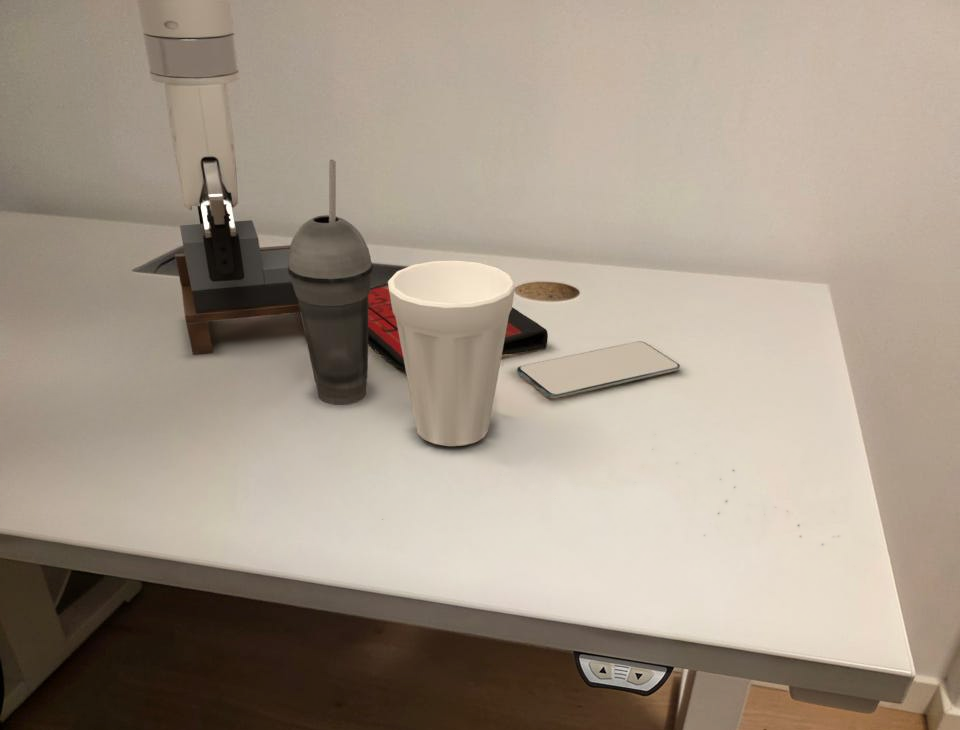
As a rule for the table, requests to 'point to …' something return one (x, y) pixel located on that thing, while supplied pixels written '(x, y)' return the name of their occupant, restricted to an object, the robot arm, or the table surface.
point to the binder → (387, 342)
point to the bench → (199, 320)
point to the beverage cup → (333, 301)
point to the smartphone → (597, 369)
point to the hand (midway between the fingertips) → (223, 262)
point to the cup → (452, 344)
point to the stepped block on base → (261, 273)
